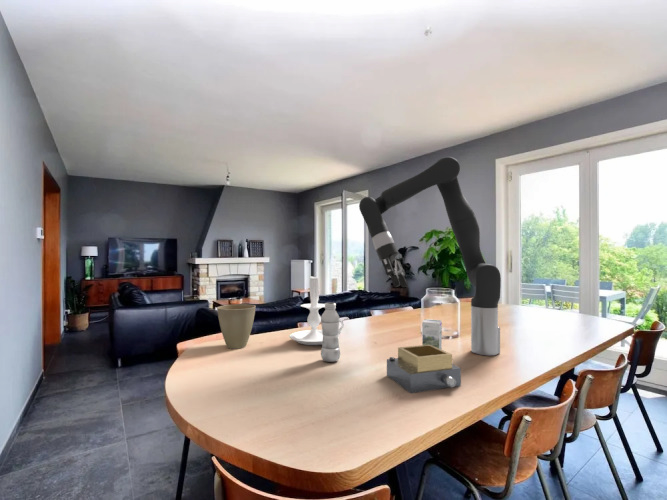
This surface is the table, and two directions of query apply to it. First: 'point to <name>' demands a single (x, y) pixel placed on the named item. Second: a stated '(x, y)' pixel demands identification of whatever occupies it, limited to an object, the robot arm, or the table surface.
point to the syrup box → (432, 333)
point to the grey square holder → (423, 369)
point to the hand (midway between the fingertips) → (401, 286)
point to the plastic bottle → (330, 333)
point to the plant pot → (236, 324)
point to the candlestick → (312, 318)
